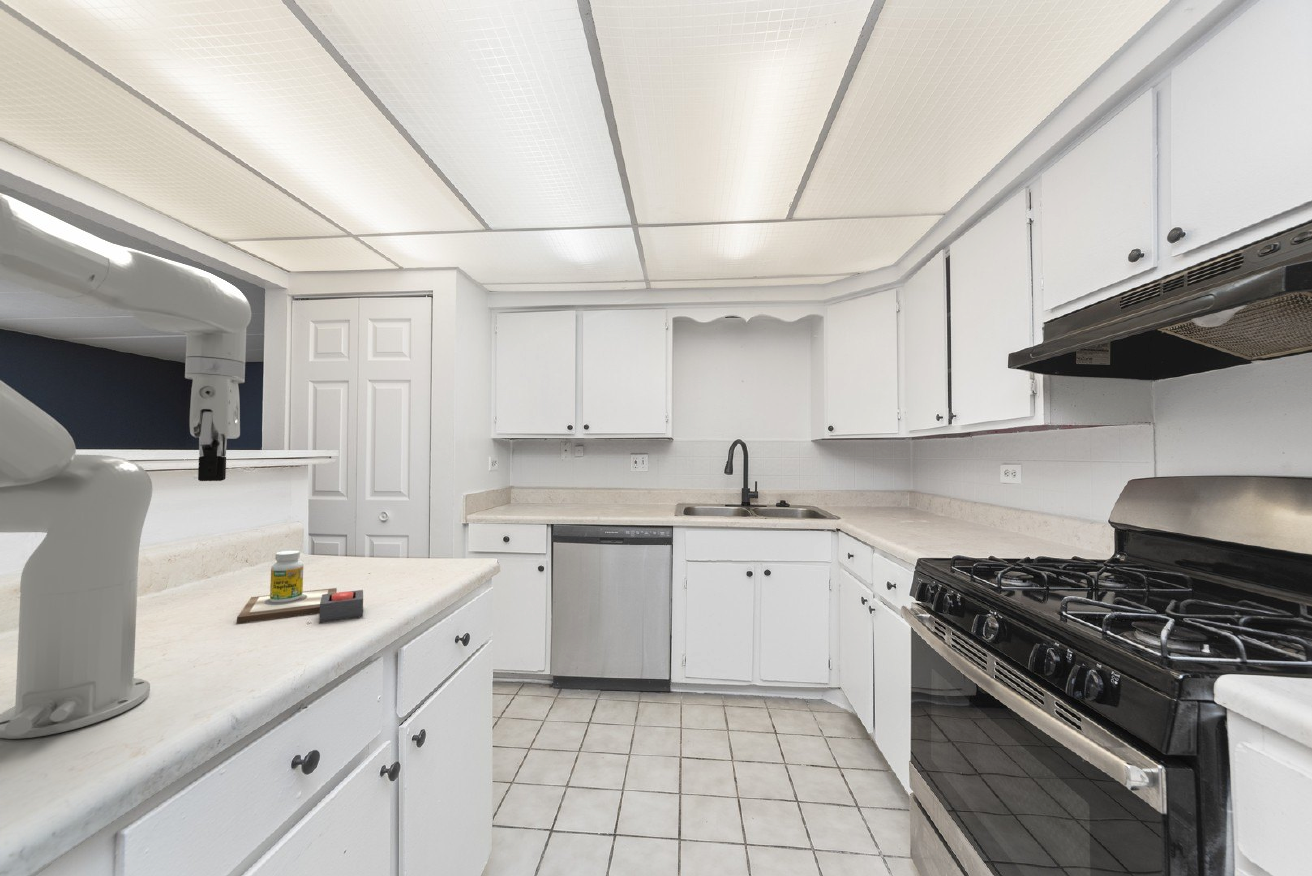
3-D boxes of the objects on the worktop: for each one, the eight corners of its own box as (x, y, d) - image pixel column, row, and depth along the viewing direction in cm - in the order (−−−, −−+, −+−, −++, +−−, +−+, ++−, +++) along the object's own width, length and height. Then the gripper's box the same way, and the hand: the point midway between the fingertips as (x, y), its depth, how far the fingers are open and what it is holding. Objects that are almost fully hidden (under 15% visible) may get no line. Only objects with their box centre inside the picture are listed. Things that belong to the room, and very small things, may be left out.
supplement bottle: (303, 594, 105) (305, 548, 105) (300, 601, 100) (302, 553, 101) (272, 597, 102) (274, 550, 103) (267, 604, 98) (269, 555, 98)
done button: (352, 608, 97) (353, 595, 97) (330, 611, 95) (331, 597, 95) (353, 603, 100) (353, 590, 100) (331, 605, 98) (332, 593, 98)
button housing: (362, 617, 96) (363, 598, 96) (319, 623, 92) (319, 604, 93) (362, 606, 102) (363, 589, 102) (321, 612, 99) (322, 594, 99)
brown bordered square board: (333, 611, 99) (333, 603, 99) (236, 623, 91) (237, 615, 91) (336, 593, 111) (336, 586, 111) (251, 602, 103) (251, 595, 103)
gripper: (235, 368, 79) (231, 483, 79) (252, 378, 92) (249, 477, 91) (171, 363, 75) (166, 484, 75) (198, 375, 88) (194, 478, 87)
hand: (211, 480), depth 83 cm, fingers closed
